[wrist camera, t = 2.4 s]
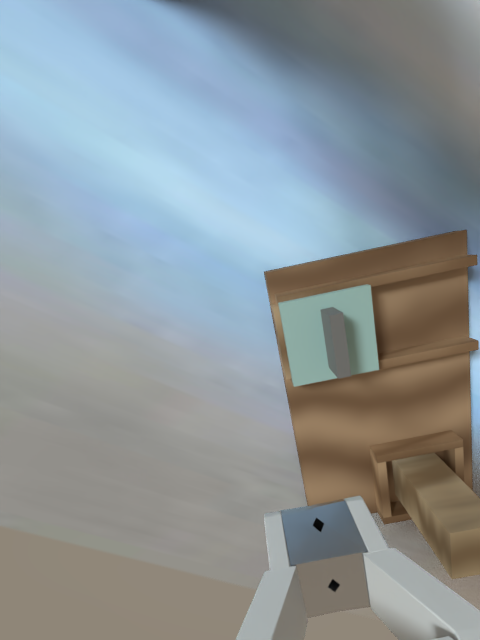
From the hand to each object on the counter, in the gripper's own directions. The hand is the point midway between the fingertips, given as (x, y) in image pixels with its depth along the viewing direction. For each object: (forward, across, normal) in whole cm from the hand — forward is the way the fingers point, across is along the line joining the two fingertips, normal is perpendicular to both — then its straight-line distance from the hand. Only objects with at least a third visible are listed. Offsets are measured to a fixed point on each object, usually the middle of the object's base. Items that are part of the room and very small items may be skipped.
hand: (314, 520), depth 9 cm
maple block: (+18, -12, +17) cm, 27 cm away
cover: (+16, -6, 0) cm, 17 cm away
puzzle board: (+19, -10, +7) cm, 22 cm away
